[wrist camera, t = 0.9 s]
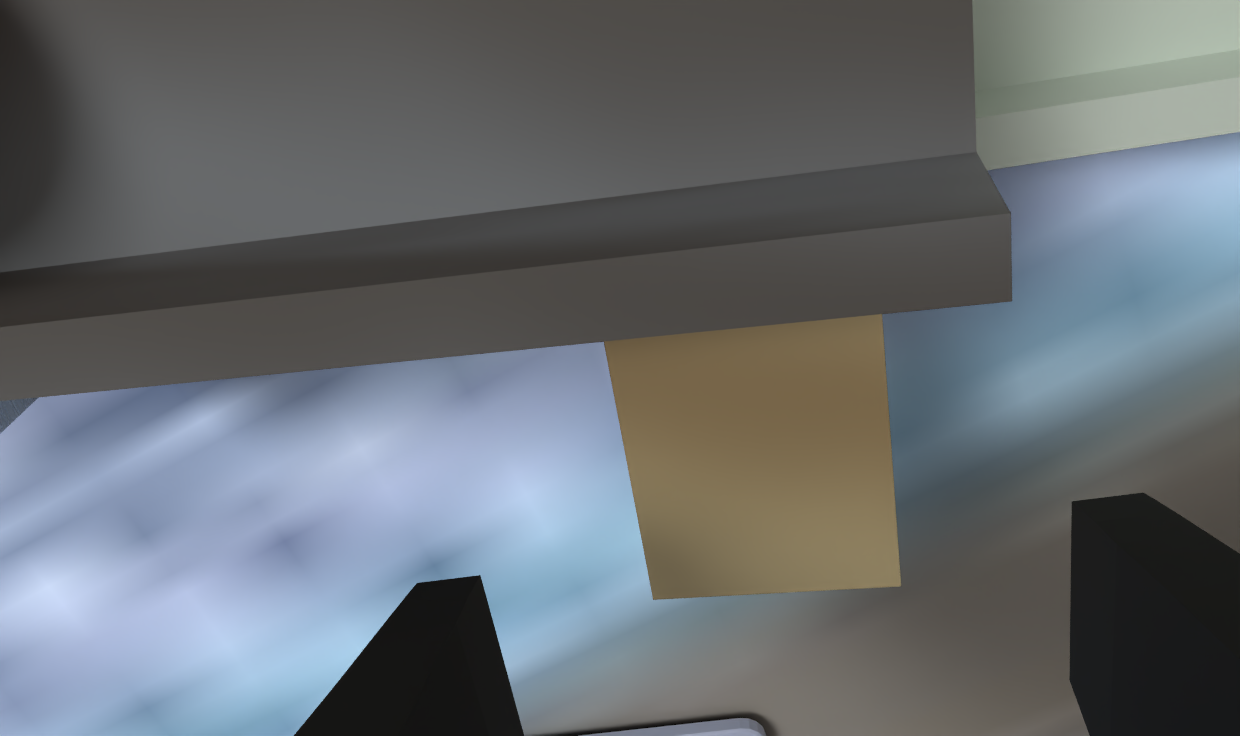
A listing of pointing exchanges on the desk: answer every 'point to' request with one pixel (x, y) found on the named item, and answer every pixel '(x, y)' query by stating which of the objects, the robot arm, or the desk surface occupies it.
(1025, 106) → the tray
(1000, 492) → the desk surface
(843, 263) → the chute lever
